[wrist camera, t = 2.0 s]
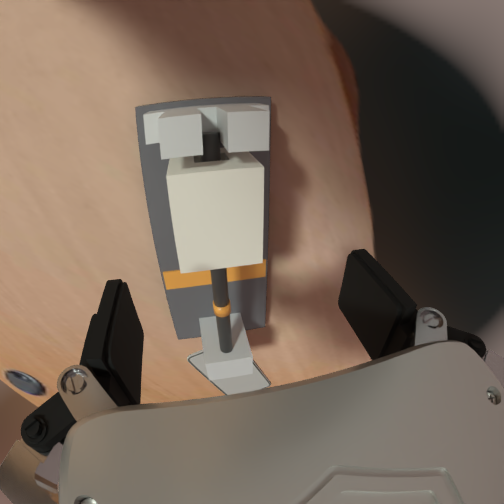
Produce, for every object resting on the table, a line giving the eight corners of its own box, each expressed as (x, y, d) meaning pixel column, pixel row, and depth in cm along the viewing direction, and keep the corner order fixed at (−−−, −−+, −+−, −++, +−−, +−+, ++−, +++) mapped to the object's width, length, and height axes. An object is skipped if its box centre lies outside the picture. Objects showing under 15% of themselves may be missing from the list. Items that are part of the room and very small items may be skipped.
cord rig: (138, 106, 18) (106, 116, 11) (265, 96, 20) (316, 103, 12) (177, 329, 31) (183, 400, 24) (261, 317, 33) (285, 383, 25)
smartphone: (231, 400, 43) (184, 358, 34) (230, 397, 43) (184, 354, 35) (272, 385, 42) (236, 338, 34) (271, 382, 43) (235, 334, 34)
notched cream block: (171, 152, 18) (166, 176, 13) (243, 146, 19) (264, 166, 14) (180, 229, 21) (180, 273, 17) (244, 222, 22) (262, 263, 17)
